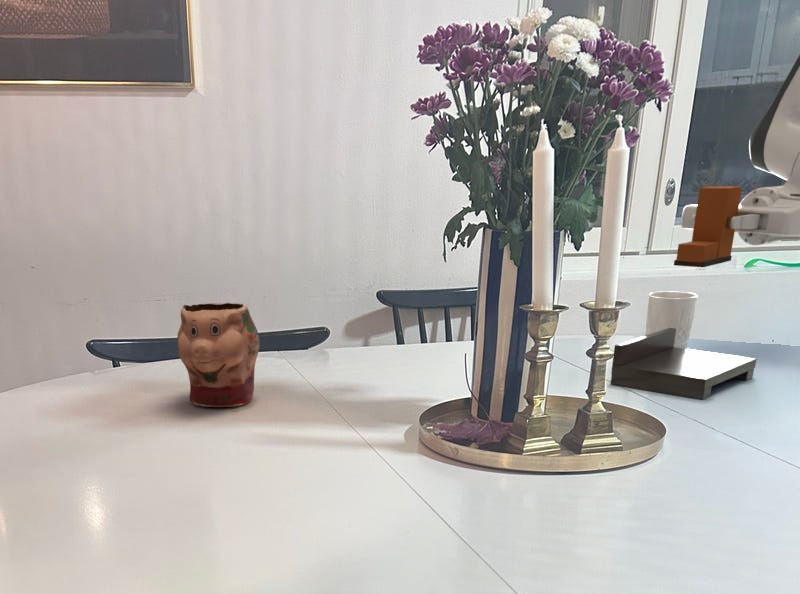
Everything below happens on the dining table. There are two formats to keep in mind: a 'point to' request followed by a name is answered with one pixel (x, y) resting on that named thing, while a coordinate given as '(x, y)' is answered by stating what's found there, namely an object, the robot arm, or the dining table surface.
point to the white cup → (671, 314)
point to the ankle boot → (711, 228)
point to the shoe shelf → (674, 366)
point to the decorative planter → (218, 353)
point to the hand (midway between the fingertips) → (712, 222)
